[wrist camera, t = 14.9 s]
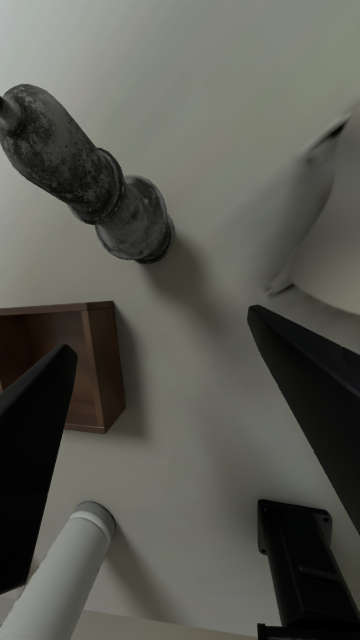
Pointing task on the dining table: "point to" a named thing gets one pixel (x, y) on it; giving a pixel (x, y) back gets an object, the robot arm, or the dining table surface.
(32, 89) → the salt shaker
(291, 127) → the dining table surface
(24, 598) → the travel mug
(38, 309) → the wooden box
